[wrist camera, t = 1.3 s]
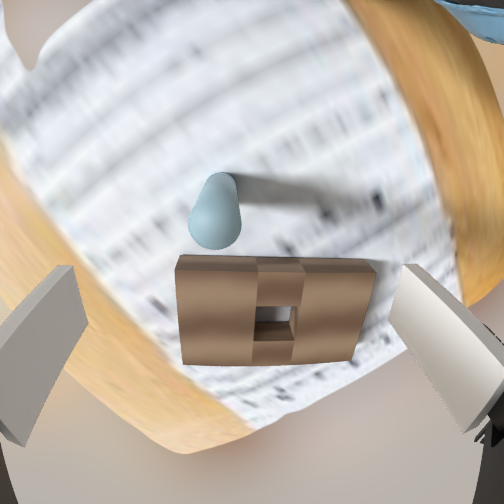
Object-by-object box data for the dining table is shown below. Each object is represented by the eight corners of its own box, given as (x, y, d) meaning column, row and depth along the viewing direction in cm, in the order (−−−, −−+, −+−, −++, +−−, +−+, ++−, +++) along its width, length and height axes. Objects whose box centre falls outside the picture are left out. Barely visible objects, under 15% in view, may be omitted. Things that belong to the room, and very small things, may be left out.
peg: (205, 172, 27) (188, 198, 16) (236, 173, 27) (242, 199, 16) (204, 202, 28) (188, 249, 17) (235, 203, 28) (240, 250, 17)
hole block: (180, 255, 30) (174, 269, 27) (363, 259, 32) (376, 272, 28) (186, 345, 34) (182, 364, 31) (342, 342, 36) (351, 360, 33)
